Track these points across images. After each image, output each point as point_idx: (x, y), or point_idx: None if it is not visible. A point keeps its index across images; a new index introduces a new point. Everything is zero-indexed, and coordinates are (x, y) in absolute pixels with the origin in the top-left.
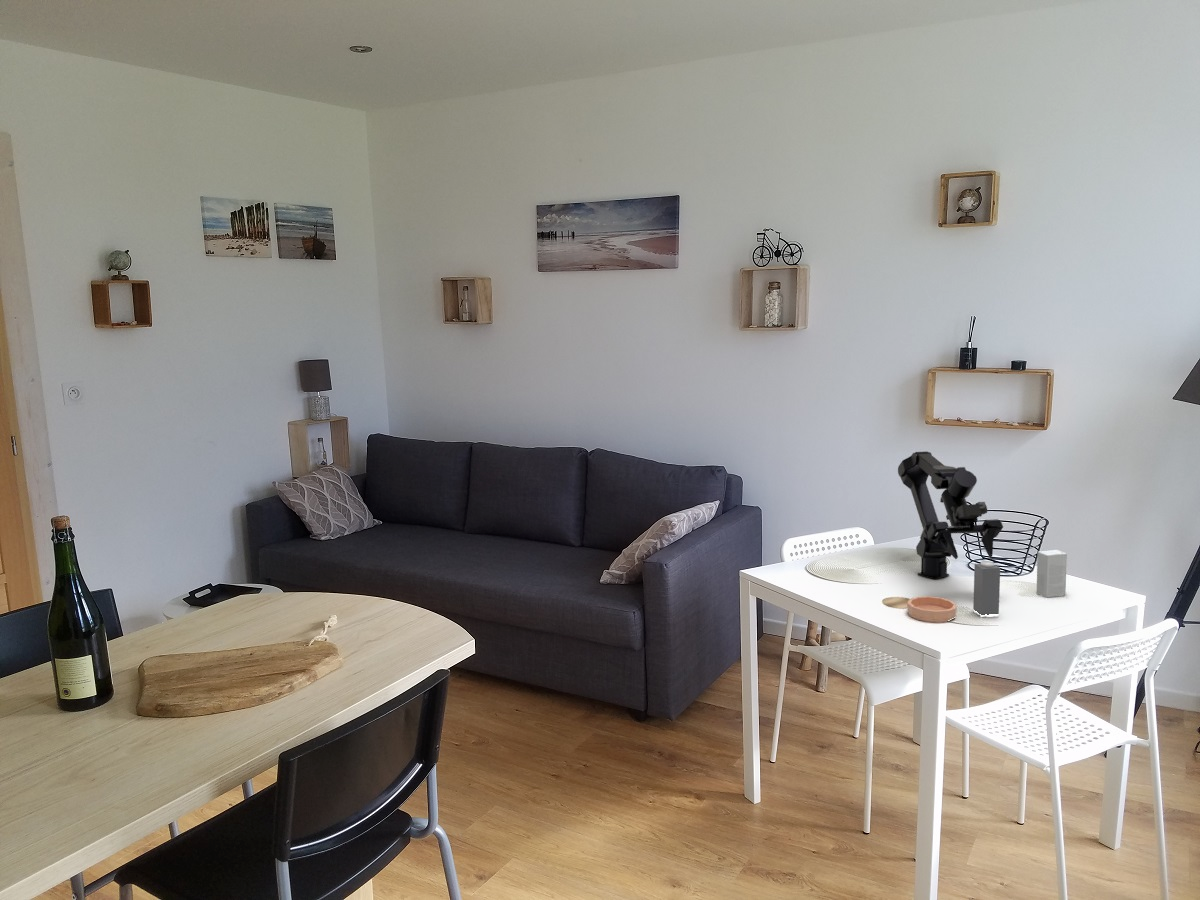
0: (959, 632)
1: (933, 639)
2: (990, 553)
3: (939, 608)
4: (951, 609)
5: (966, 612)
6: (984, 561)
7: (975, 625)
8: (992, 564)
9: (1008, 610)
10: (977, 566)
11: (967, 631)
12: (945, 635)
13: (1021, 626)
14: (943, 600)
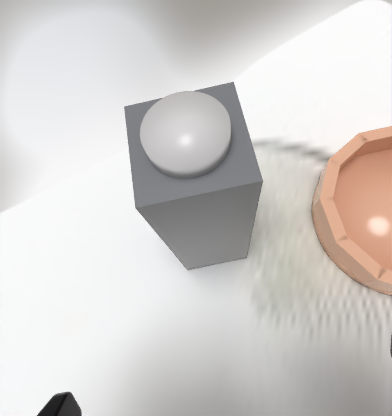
0: (315, 90)
1: (387, 42)
2: (60, 409)
3: (371, 242)
4: (343, 149)
5: (270, 251)
6: (195, 156)
7: (263, 142)
8: (162, 98)
9: (126, 280)
10: (250, 145)
11: (293, 99)
12: (354, 68)
13: None
14: (366, 256)
